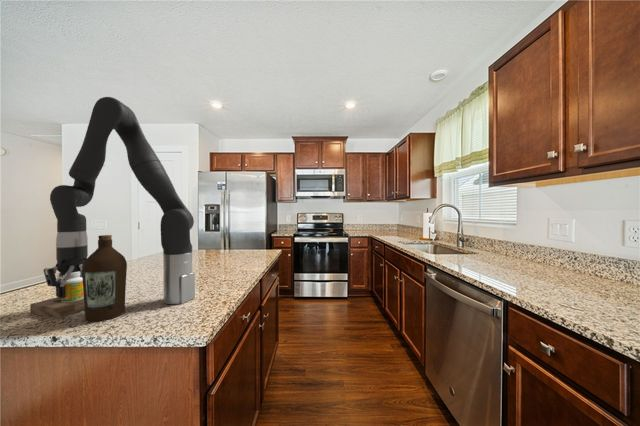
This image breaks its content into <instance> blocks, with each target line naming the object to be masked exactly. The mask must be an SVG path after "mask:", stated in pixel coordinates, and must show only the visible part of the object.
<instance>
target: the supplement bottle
mask: <svg viewBox="0 0 640 426" xmlns="http://www.w3.org/2000/svg"><path fill="white" fill-rule="evenodd" d="M80 275H81V271H78V272H73V273H71V275H70V277H69V279H68V280H67V281H66V283H65V285H64V286H65V298H61V302H62V303H70V302H74V301H77V300H81V299H83V298H84V291H83V279H82V277H80Z"/></svg>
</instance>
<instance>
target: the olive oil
mask: <svg viewBox="0 0 640 426" xmlns="http://www.w3.org/2000/svg"><path fill="white" fill-rule="evenodd" d="M112 237H113V235H111V234H104V235H103V234H101V235H98V239H97V248H96V250H95V251H93V252H92V253H91V254H90V255H88V256H87V259H86V260H85V261H84V263H83V266H82V279H83V291H84V307H85V311H84V320H85V321H87V322H91V323H94V322H102V321H108V320H111V319H114V318H117V317H120V316H122V315H123V314H124V313H125V311H126V290H127V289H126V288H127V285H126V284H127V274H128V273H127V270H128V262H127V260H126V258H125V256H124V255H123V254H122V253H121V252H119V251H118V250H117V249H115V248H114V247H113V239H112Z"/></svg>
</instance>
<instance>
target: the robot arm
mask: <svg viewBox="0 0 640 426" xmlns="http://www.w3.org/2000/svg"><path fill="white" fill-rule="evenodd" d="M113 130H114V131H115V132H116V134H117V135H118V136H119V138H120V140H121V141H122V142H123V144H124V146H125V149H126V154H127V155H126V156H127V160H128V161H127V162H128V165H129V167H130V169H131V171H132V173H133V174H134V176H135V178H136V179H137V181H138V182H139V184H140V185H141V186H142V188H143V189H144V190H145V191H146V192H147V193H148V194H149V195H150V196H151V197H152V199H154V200H155V202H157V204H158V205H159V207H160V209H161V211H162V213H163V214H162V215H161V219H160V243H161V245H160V246H161V248H162V250H163V251H162V253H163V263H162V264H163V266H162V269H163V270H162V271H163V276H162V277H163V280H162V281H163V283H162V285H163V303H164V304H166V305H176V304H178V305H179V304H184V303H186V302H188V301H192V300H193V299H195V298H196V289H195V288H196V283H195V282H196V281H195V280H196V274H195V272H193V245H192V242H191V230H192V229H193V226H194V224H195V223H194V222H195V220H194V217H193V214H192V213H191V212H190V210H189V208H188V207H187V206H186V205H185V204H184V203H183V201H182V199H181V198H180V196H179V195H178V193H177V191H176V188H175V186H174V184H173V183H172V180H171V179H170V177H169V174H168V173H167V171H166V169H165V167H164V165H163V164H162V162H161V160H160V159H159V157H158V156H157V153H156V152H155V150H154V149H153V148H152V146H151V144H150V143H149V141H148V140H147V138H146V136H145V135H144V132H143V130H142V127H141V124H140V123H139V120H138V118H137V116H136V114H135V112H134V111H133V110H132V109H131V108H130V107H129V106H128V105H126V104H125V103H123V102H122V101H121V100H119V99H117V98H115V97H113V96H103V97H101V98H99V99H97V101H96V102H95V104H94V105H93V109H92V110H91V115H90V119H89V122H88V126H87V129H86V131H85V136H84V139H83V142H82V144H81V147H80V149H79V151H78V153H77V155H76V157H75V159H74V161H73V163H72V165H71V166H70V168H69V170H68V176H69V177H70V178H72V179H73V180H74V181H73V185H66V184H61V185H57V186H55V187H53V189H52V190H51V191H50V194H49V201H50V205H51V207H52V210H53V213H54V216H55V218H56V221H57V222H56V230H57V232H56V237H55V239H56V240H55V247H56V248H55V249H56V250H55V251H56V252H55V253H56V264H55V266H52V267H48V268H43V273H44V277H45V281H46V284H47V286H48V287H54V288H55V296H56V298H57V297H58V298H65V286H64V285H65V283H66V281H67V280H68V279H69V277H70V275H71V273H73V272H78V271H81V275H80V277H82V266H83V263H84V261H85V260H86V259H87V258H88V257H89V253H88V252H89V251H88V250H89V249H88V248H89V247H88V245H89V244H88V239H89V238H88V234H87V218H86V215H84V214H81V213H79V212H78V208H81V207H86V205H89V204H90V202H91V201H92V199H93V197H94V194H95V188H96V180H97V179H98V176H99V175H100V173H101V171H102V169H103V168H104V165H105V162H106V156H107V144H108V141H109V137H110V135H111V133H112V131H113ZM57 271H58V275H57V276H56V273H57Z"/></svg>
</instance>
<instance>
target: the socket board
mask: <svg viewBox="0 0 640 426" xmlns="http://www.w3.org/2000/svg"><path fill="white" fill-rule="evenodd" d="M29 308H30V309H29V310H30V315H35V316H36V315H37V316H43V317H49V318H56V319H63V318H66V317H69V316H73V315H75V314H78V313H79V314H80V313H81V312H85V307H84V298H83V299H81V300H77V301H74V302H70V303H62V302H61V298H58V297H57V296H56V297H53V298H50V299H46V300H42V301H38V302H34V303H31V304H30V306H29Z"/></svg>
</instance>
